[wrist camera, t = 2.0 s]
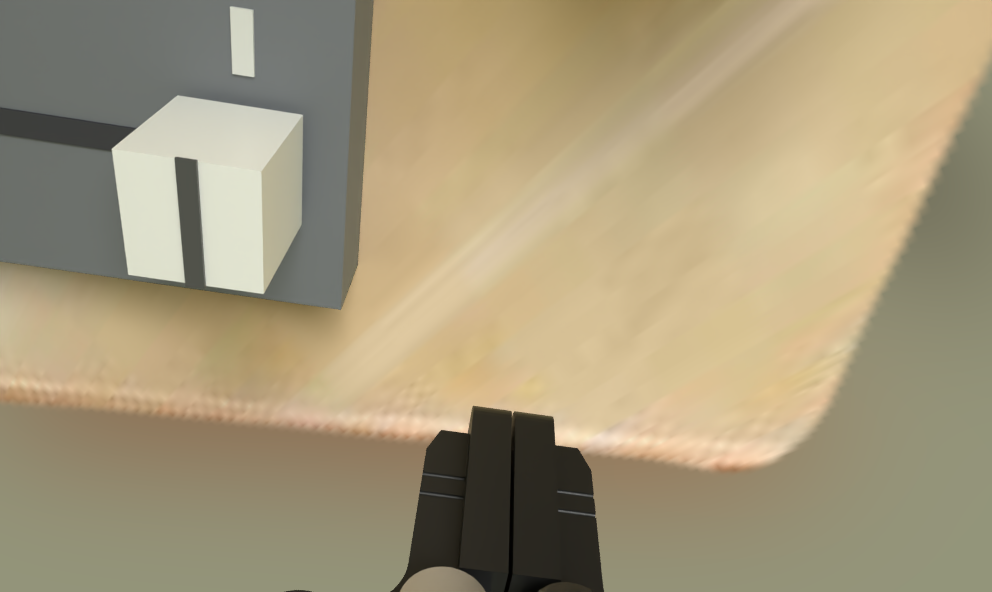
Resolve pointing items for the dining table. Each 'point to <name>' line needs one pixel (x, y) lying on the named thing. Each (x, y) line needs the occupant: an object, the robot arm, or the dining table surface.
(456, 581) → the robot arm
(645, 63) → the dining table surface
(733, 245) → the dining table surface
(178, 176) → the fader knob
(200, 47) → the fader slider base
